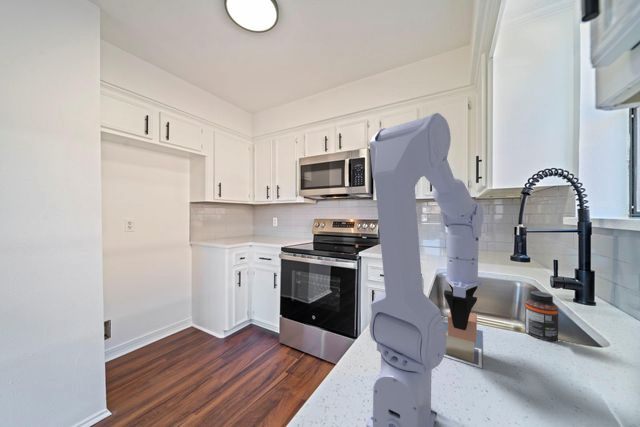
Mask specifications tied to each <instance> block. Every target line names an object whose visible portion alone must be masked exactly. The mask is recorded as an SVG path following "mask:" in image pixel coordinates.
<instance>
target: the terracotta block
mask: <svg viewBox="0 0 640 427" xmlns="http://www.w3.org/2000/svg"><path fill="white" fill-rule="evenodd" d="M447 323H448V336H452V337H456V338H460V339H463V340H467V341H471V342H474V343H476V334H477V330H478V329H477V328H478V326H477V325H478V313H473V312H470V315H469V320H468V325H467V328H466V330H461V329H457V328H454V326H453V323H452V318H451V312H450V311H449V313H448V315H447Z"/></svg>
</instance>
